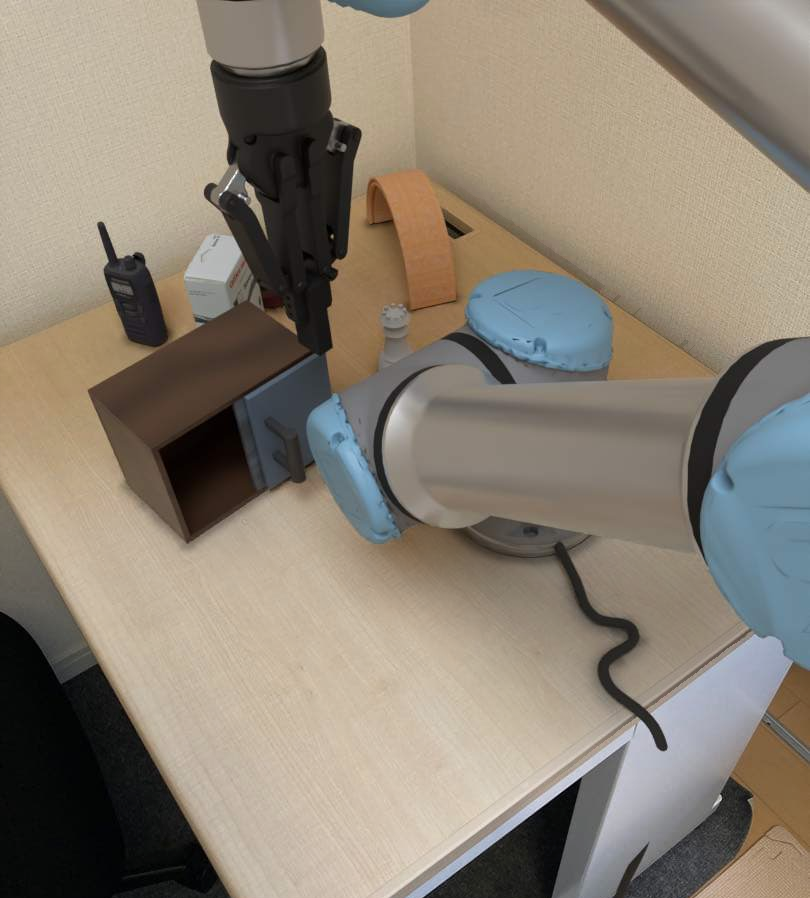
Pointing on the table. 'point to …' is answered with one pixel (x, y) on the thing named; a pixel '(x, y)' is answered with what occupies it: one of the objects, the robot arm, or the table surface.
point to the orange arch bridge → (416, 233)
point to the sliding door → (287, 418)
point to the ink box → (219, 279)
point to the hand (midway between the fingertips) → (315, 345)
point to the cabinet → (196, 417)
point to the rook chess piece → (394, 335)
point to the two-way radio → (133, 294)
